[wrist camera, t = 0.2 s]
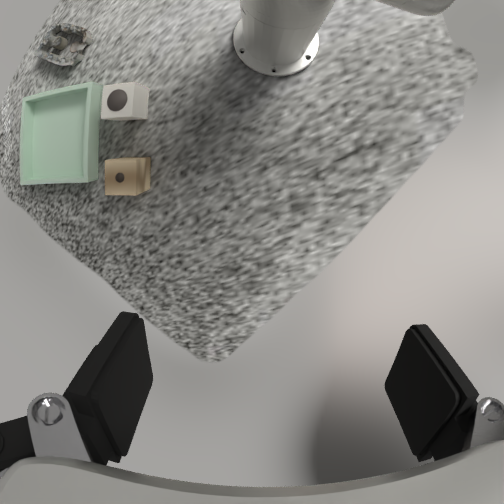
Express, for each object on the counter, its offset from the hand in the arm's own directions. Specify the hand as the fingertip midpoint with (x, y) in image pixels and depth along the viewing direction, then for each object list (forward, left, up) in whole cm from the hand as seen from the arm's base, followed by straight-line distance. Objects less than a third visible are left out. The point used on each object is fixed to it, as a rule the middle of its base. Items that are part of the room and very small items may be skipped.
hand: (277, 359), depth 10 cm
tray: (-9, -34, -36) cm, 51 cm away
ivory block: (-13, -20, -36) cm, 44 cm away
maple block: (-2, -19, -36) cm, 41 cm away
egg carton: (-26, -35, -37) cm, 57 cm away
